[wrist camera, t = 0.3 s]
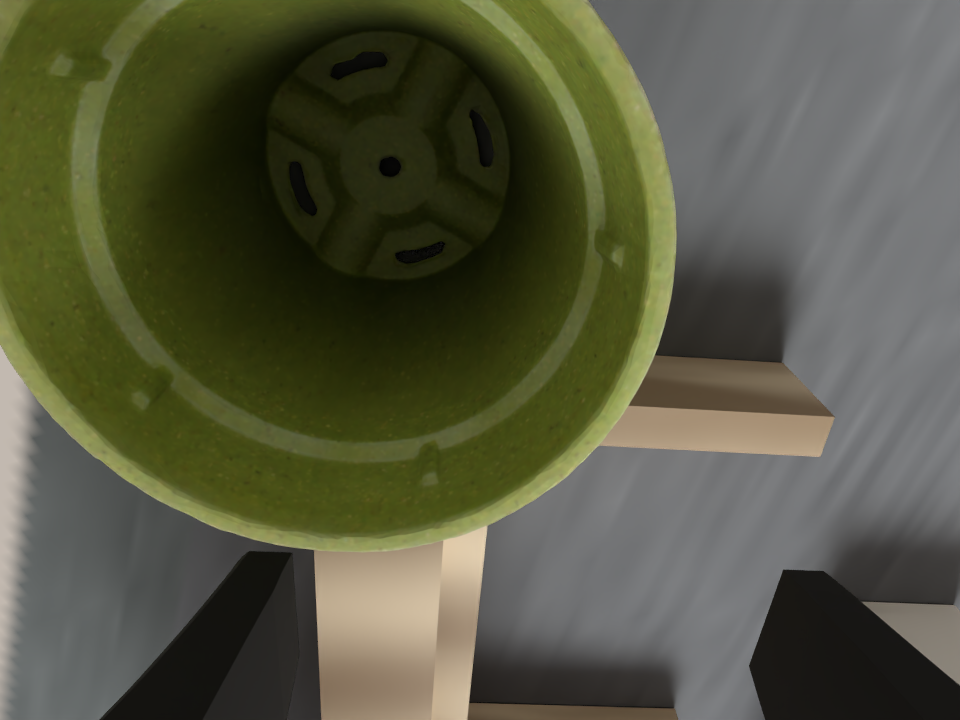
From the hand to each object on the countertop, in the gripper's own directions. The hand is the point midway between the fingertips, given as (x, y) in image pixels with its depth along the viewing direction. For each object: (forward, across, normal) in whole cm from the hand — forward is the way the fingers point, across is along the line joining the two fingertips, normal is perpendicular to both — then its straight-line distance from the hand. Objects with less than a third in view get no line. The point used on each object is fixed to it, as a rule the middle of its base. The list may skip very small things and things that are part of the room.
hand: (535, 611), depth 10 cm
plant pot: (+10, +3, -4) cm, 12 cm away
